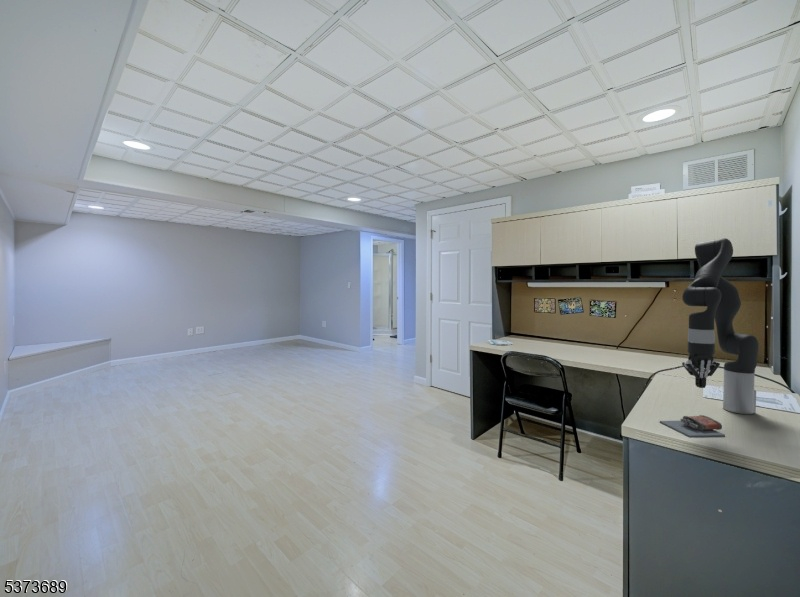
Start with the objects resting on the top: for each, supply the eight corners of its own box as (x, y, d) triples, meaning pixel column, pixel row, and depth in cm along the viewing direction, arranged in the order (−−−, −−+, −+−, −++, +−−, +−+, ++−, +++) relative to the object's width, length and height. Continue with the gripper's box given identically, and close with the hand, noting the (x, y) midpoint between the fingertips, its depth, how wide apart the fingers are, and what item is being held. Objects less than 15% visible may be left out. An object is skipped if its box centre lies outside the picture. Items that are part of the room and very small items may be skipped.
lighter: (699, 421, 129) (676, 422, 128) (700, 413, 129) (677, 414, 128) (721, 431, 121) (696, 433, 120) (722, 422, 121) (697, 424, 120)
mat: (691, 421, 131) (691, 420, 131) (724, 436, 118) (725, 434, 118) (659, 422, 130) (659, 420, 130) (689, 437, 117) (689, 435, 117)
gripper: (708, 339, 127) (707, 383, 128) (675, 340, 126) (674, 384, 127) (728, 342, 120) (727, 389, 120) (693, 343, 119) (692, 391, 120)
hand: (700, 387), depth 124 cm, fingers closed
